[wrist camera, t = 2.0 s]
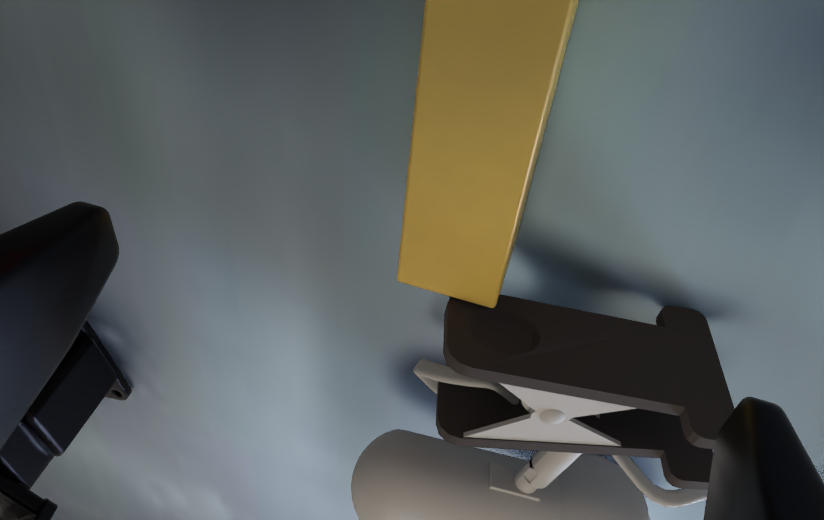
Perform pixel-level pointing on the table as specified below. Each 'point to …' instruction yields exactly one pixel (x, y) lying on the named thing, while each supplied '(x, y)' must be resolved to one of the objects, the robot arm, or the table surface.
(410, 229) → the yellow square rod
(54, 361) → the robot arm
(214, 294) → the table surface
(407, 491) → the clip-on lamp
